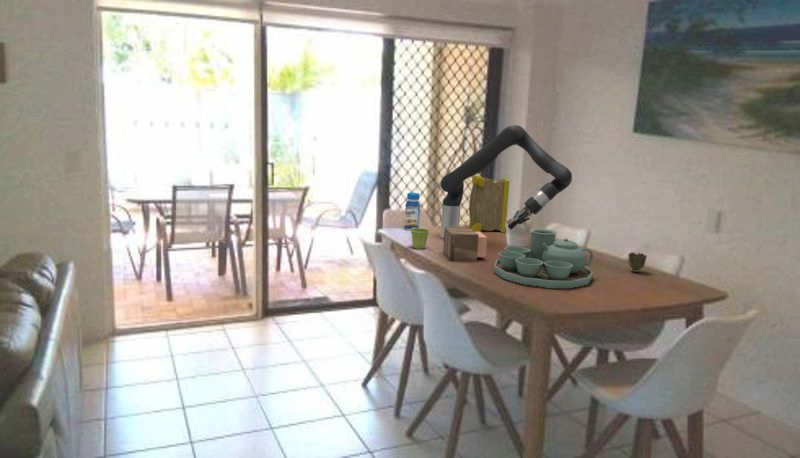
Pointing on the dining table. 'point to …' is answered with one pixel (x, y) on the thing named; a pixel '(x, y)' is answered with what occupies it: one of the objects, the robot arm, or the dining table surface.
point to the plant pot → (419, 237)
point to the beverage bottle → (412, 211)
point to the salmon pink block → (481, 245)
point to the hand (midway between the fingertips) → (509, 227)
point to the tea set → (545, 262)
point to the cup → (637, 261)
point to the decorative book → (488, 204)
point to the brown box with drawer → (460, 244)
